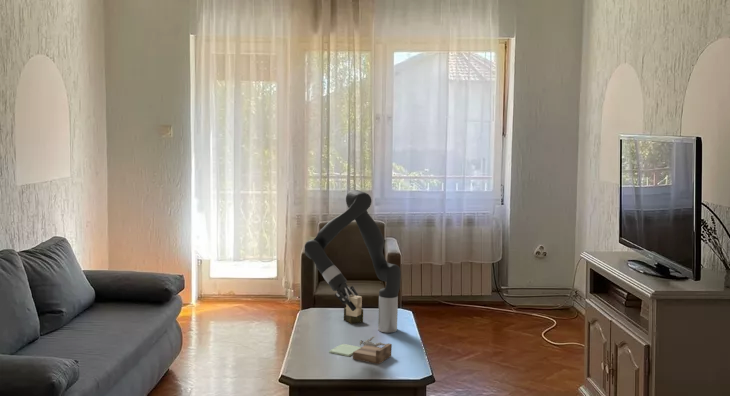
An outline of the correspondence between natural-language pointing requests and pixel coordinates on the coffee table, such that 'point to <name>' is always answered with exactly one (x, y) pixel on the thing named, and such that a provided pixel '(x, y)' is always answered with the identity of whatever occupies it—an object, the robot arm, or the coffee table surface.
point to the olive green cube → (353, 318)
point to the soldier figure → (371, 342)
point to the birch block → (358, 304)
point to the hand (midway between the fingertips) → (357, 308)
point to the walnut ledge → (373, 353)
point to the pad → (344, 350)
